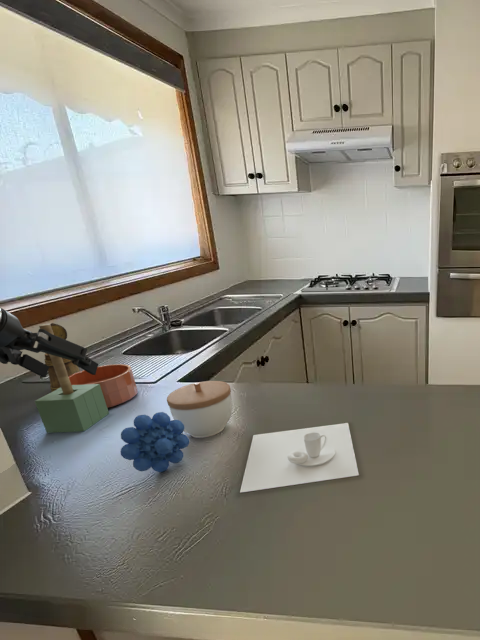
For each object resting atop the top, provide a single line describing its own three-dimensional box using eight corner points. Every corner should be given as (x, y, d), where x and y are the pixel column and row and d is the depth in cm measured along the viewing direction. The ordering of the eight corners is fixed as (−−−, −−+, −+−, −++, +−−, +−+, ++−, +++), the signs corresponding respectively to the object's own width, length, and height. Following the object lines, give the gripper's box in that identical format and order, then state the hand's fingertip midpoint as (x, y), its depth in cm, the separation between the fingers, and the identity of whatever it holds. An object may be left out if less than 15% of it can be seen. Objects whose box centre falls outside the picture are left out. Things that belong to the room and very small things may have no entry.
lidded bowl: (237, 412, 100) (228, 368, 96) (238, 436, 88) (228, 388, 84) (179, 423, 96) (168, 378, 92) (173, 450, 85) (160, 400, 81)
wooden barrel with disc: (88, 376, 132) (70, 320, 126) (87, 389, 121) (67, 328, 115) (54, 383, 128) (33, 325, 122) (50, 397, 117) (27, 334, 111)
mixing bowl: (57, 414, 106) (46, 387, 103) (97, 390, 120) (89, 365, 117) (115, 412, 105) (107, 384, 102) (149, 387, 119) (142, 362, 116)
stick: (72, 425, 99) (36, 326, 91) (78, 421, 101) (43, 323, 93) (80, 424, 99) (45, 325, 91) (86, 420, 101) (52, 323, 93)
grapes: (143, 495, 71) (123, 432, 67) (125, 482, 75) (105, 422, 71) (205, 462, 80) (191, 405, 75) (186, 452, 84) (172, 397, 79)
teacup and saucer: (288, 471, 75) (284, 451, 74) (289, 448, 82) (286, 430, 81) (337, 464, 76) (334, 444, 75) (334, 442, 83) (332, 424, 82)
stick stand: (46, 433, 96) (34, 401, 93) (74, 415, 105) (64, 385, 102) (84, 431, 96) (72, 399, 93) (109, 413, 104) (99, 383, 101)
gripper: (51, 301, 79) (123, 353, 99) (-67, 308, 81) (27, 358, 101) (38, 336, 76) (115, 383, 96) (-84, 343, 78) (17, 387, 97)
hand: (70, 370), depth 98 cm, fingers open, 11 cm apart
